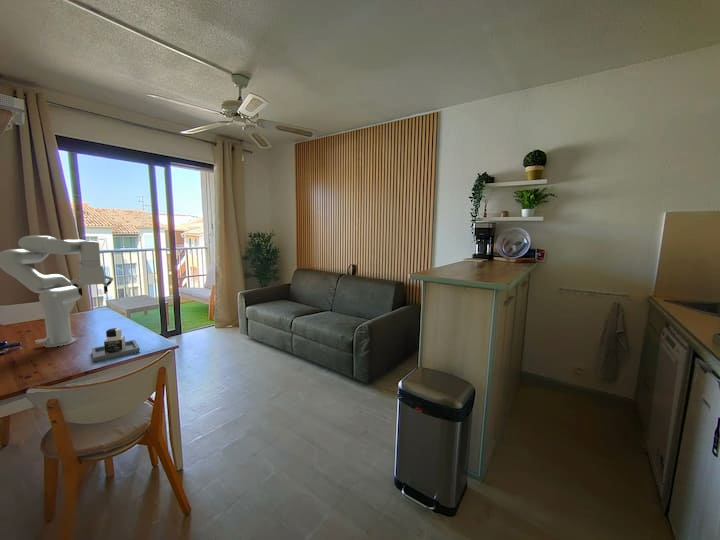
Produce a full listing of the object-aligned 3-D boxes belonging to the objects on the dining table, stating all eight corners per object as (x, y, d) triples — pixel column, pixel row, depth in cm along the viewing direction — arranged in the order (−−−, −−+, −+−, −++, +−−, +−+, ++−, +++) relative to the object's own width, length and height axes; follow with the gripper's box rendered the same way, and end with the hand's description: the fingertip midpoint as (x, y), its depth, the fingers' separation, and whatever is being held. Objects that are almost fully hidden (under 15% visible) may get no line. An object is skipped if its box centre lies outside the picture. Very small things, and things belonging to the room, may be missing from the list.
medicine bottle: (105, 354, 147) (102, 332, 146) (108, 349, 153) (106, 328, 152) (122, 352, 150) (120, 330, 149) (125, 347, 157) (123, 326, 155)
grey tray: (93, 362, 140) (93, 357, 140) (92, 352, 151) (91, 348, 151) (139, 352, 153) (139, 347, 152) (135, 343, 164) (134, 339, 163)
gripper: (68, 264, 147) (71, 297, 150) (112, 263, 160) (114, 293, 162) (68, 263, 153) (71, 295, 155) (111, 262, 165) (113, 291, 167)
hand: (93, 294), depth 158 cm, fingers open, 9 cm apart
